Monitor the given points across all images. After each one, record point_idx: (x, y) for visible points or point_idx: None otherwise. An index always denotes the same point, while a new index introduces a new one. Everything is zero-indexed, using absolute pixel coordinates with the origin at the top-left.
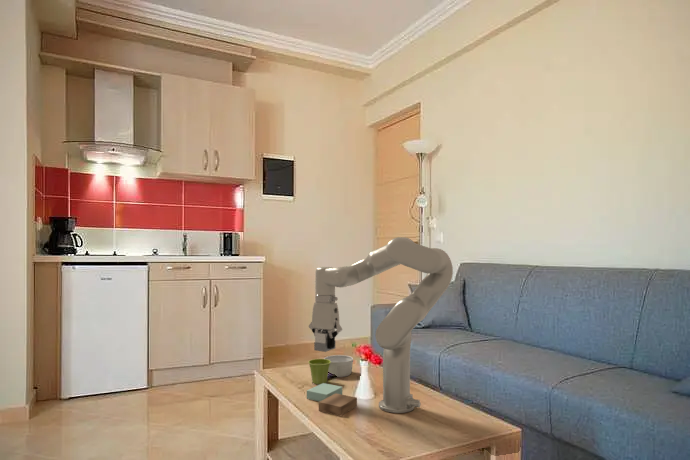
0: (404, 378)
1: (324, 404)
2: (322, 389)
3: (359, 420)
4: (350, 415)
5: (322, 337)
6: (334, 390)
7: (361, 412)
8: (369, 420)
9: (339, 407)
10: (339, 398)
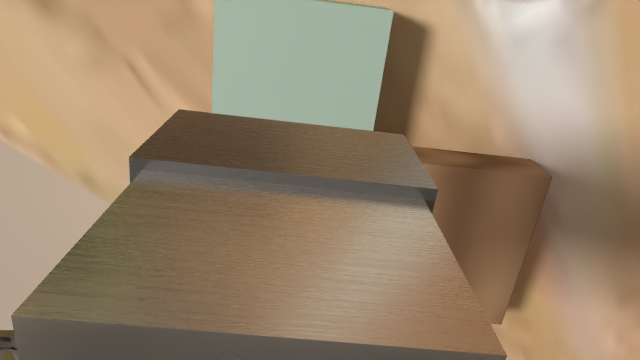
0: None
1: None
2: None
3: (579, 306)
4: (527, 275)
5: None
6: (373, 114)
7: (570, 225)
8: (622, 290)
9: (492, 320)
10: (456, 228)
